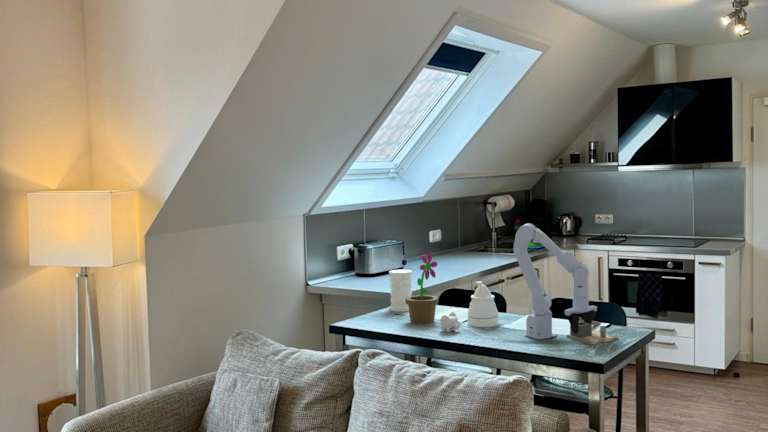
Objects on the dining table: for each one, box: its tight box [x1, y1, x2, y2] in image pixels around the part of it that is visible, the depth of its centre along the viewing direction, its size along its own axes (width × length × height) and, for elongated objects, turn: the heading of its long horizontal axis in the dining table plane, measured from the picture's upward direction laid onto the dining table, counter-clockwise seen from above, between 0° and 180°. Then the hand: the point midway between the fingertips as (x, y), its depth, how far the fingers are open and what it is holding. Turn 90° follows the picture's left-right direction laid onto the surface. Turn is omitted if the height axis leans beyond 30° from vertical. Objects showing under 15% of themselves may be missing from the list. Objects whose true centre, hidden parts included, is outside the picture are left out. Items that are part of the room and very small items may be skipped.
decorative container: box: [388, 269, 413, 313], centre depth 346 cm, size 12×12×18 cm
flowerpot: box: [405, 251, 440, 325], centre depth 318 cm, size 14×14×30 cm
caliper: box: [579, 316, 601, 326], centre depth 298 cm, size 21×1×6 cm, turn 140°
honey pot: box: [467, 281, 499, 328], centre depth 311 cm, size 13×13×18 cm
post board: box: [566, 325, 620, 345], centre depth 281 cm, size 14×13×5 cm
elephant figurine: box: [439, 311, 463, 333], centre depth 299 cm, size 8×10×7 cm
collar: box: [569, 322, 593, 338], centre depth 282 cm, size 6×6×4 cm
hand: (580, 331), depth 282 cm, fingers closed on collar, 6 cm apart
